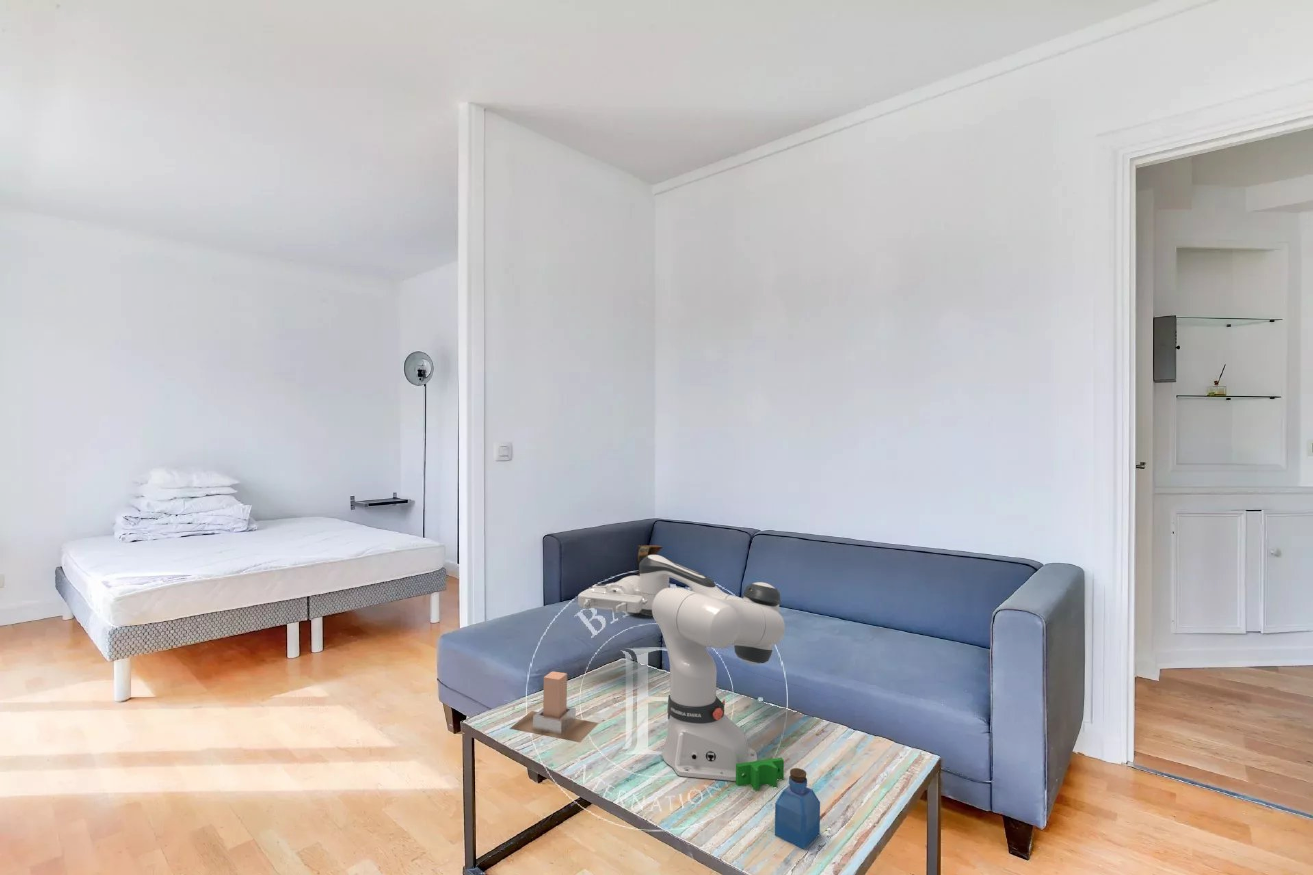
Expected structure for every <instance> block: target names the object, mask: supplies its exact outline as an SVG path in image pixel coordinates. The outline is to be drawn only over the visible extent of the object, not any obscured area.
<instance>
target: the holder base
mask: <svg viewBox="0 0 1313 875" xmlns="http://www.w3.org/2000/svg"><path fill="white" fill-rule="evenodd" d="M538 712H539V711H534V710H531V711H529V712H528V713H527V714H526V715H525V716H523V717H522V718H521V719H519V720H518V721H517V722H515V724H513V725H512V726H511V727H509V729H510V730H513V731H521V732H524V733H531V734H534V735H540V736H546V737H551V738H556V739H561V740H565V741H572V742H577V743H581V742H582V741H583V740H584V739H585V738H586V737H587V736H588V735H589V734H590V733H591V732H592V731H593V730H594V729H595V728H596V727H597V726H598V725H599V722H595V721H591V720H584V719H578V718H576V721H575V723H574V724H572V725H571V726H570V727H569V728H568V729H567V730H566V731H565V732H564V733H563V734H562V735H557V734H552V733H547V732H542V731H536V730H533V716H534V715H535V714H536V713H538Z"/></svg>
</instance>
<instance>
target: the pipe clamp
mask: <svg viewBox="0 0 1313 875" xmlns="http://www.w3.org/2000/svg"><path fill="white" fill-rule="evenodd" d="M784 767H785V760H784V758H783V757H775V758H774V757H773V758H768V759H761V760H758V761H753V762H746V763H739V764H736V781H735V785H736V786H737V787H742V786H748V785H750V786H751V788H752V789H753V790H754V791H755V792H758V791H759V786H762V785H767V786H770V787H772V786H773V787H772V788H774V787H777V788H778V780H777V779H782V780H784V779H783V778H785V776H784V774H785V773H784V771H785V768H784ZM743 773H744V775H743V776H742V774H743Z"/></svg>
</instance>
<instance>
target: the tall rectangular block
mask: <svg viewBox="0 0 1313 875" xmlns="http://www.w3.org/2000/svg"><path fill="white" fill-rule="evenodd" d="M567 695H568V673H566V672H558V671H553V670H552V671H551V672H548V674H546V675H545V676H544V677H543V697H542V698H543V699H542V700H543V701H542V702H543V703H542V704H543V706H542V709H543V716H546V717H552V718H557V719H560V718H561V717H562V716H563V715H565V714H566V711H567V707H568V705H567V704H568V702H567V701H568V700H567V698H568V697H567Z"/></svg>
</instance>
